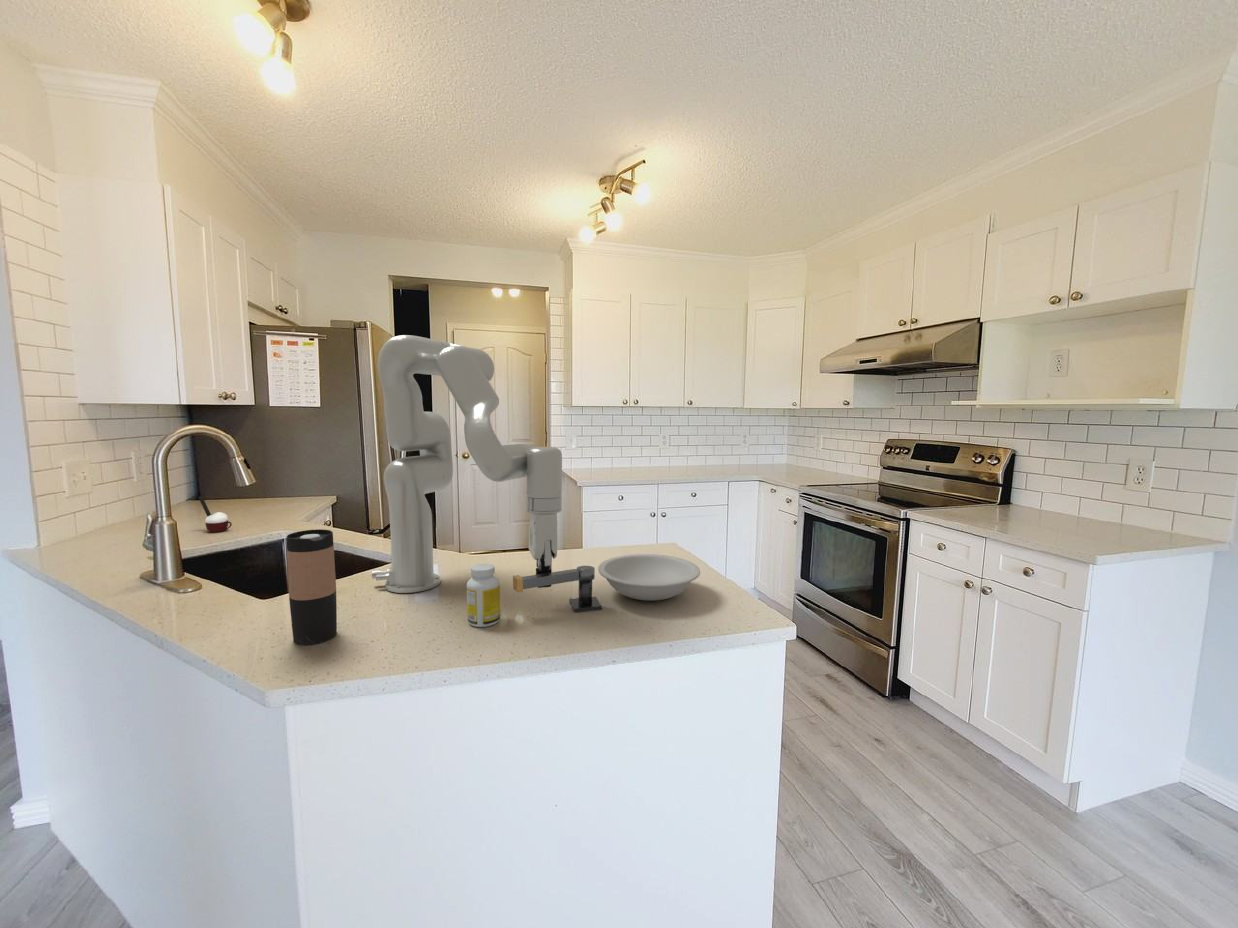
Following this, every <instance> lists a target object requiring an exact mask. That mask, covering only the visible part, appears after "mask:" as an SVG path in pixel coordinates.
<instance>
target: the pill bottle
mask: <svg viewBox="0 0 1238 928" xmlns="http://www.w3.org/2000/svg"><path fill="white" fill-rule="evenodd" d="M495 567H496V566H495V565H494V564H492V563H478V564H474V565H472V566H471V567H470V575H471V578H469V579H468V581H467V582H466V604H467V605H466V606H467V609H466V610H467V622H468V624H469V625H470V626H473V627H476V628H486V627H491V626H493V625H495V624H497V623H498V622H500V620H501V619H500V618H501V601H500V600H501V599H500V598H501V597H500V596H501V593H500V579H499V578H498V577H497V576H494V574H495V572H496V571H495Z"/></svg>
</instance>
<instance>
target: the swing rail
mask: <svg viewBox="0 0 1238 928" xmlns="http://www.w3.org/2000/svg"><path fill="white" fill-rule="evenodd" d="M595 577H596V576H595V567H594V566H592V565H581V566H580V565H579V566H577V567H576V568H572V569H566V570H559V571H552V572H551V573H544V574H537V575H536V574H532V575H526V576H521V575H520V574H515V575H512V587H513V590H514V591H515V592H516V593H517V594H519V593H523V592H524V590H528V589H534V588H538V587H541V586H547V585H551V586H553V585H558V584H564V583H571V582H576V581H577V582H579V580H580V581H591V580H592V581H593V580H595Z"/></svg>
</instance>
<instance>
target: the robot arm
mask: <svg viewBox="0 0 1238 928" xmlns="http://www.w3.org/2000/svg"><path fill="white" fill-rule="evenodd" d="M378 353H379V354H378V357H377V372H378V375H379V376H378V377H379V381H380V385H381V388H382V395H383V408H384V420H385V429H386V430H385V431H386V438H387V442H388V444H389V445H390V447H391V448H392V449H394V450H395V451H399V452H413V451H415V452H416V451H419V455H415V456H414V455H413V456H405V457H400V458H397V459H394V460H393V461H391V462H390V463H389V464H388V465H386V468H384V472H383V484H384V485H383V486H384V489H385V492H386V496H387V497H386V498H387V503H388V510H389V526H390V527H389V528H390V529H389V530H390V554H391V556H390V557H391V558H390V559H391V566H390V568H386V569H385V570H381V569H379V570H372V573H371V574H372V575H371V578H372V579H373V580H375V581H377V582H378V581H384V580H386V581H385V587H384V588H385V590H387V592H388V591H389V592H392V593H397V594H410V593H411V594H413V593H418V592H424V591H427V590H430V589H433V588H435V587H437V586H439V585H440V583H441V577H440V575H439V574H437V573H435V572H434V552H433V551H434V548H433V547H434V541H433V514H432V513H433V512H432V509H431V507H430V504H429V502H428V499H427V498H426V496H425V495H426V494H430V493H435V492H439V491H442V490H445V489H446V488H447V487H448V486H449V485H450V483H451V482H452V479H453V476H454V475H453V474H454V464H453V452H452V451H453V450H452V437H451V430H450V427H449V424H448V423H447V421H446V419H445V418H444V417H443V416H442V415H440V414H439V413H436V412H434V411H424V405H423V395H422V390H421V389H420V388H421V387H420V385H419V383H418V382H417V381H416V379H415V377H414V374H419V375H420V374H421V375H431V376H439V377H441V378H442V380H443V382H444V383H445V384H446V385H445V386H446V387H447V389H448V390H449V392H450V394H451V395H452V396H453V398H454V400H455V402H456V404H457V406H458V408H460V411H461V412H462V414H463V416H464V424H463V431H464V441H465V444H466V447H467V450H468V453H469V454H470V456H471V457H472V459H473V461H474V462H475V464H476V466H477V467H478V469H479V470H480V472H481V473H482V474H483V475H484V477H486V478H487V479H489V480H490V481H493V482H497V483H500V482H506V481H511V480H516V479H521V478H526V512H527V513H529V527H528V528H529V529H528V551H529V553H530V555H531V557H532V558H533V560H535V562H536V564H535V565H536V568H535V575H537V574H544V573H551V572H553V570H552V561H553V559H554V560H555V558H557V556H558V513H561V512H562V511H563V510H562V503H563V501H562V500H563V498H562V497H563V495H562V493H563V454H562V451H561V449H559V448H557V447H555V446H533V445H529V444H523V443H514V444H504V445H503V444H502V443H501V441H500V440H499V438H498V437H497V435H496V433H495V431H494V429H493V427H492V422H491V415H492V413H493V412H495V410H496V409H497V408H498V407H499V404H500V398H499V396H498V394H497V393H496V391H495V389H494V388H493V386H492V385H491V383H490V381H491V380H492V379H493V377H494V374H495V364H494V362H493V359H492V357H491V356H490V355H489V354H488V353H487V352H485V351H484V350H483V349H482V350H481V349H479V348H474V347H467V346H463V345H460V344H456V343H452V342H447V341H443V340H437V339H433V338H428V337H423V336H418V335H411V334H410V335H409V334H402V335H396V336H393V337H391V338H389V339H388V340H387V341H385V342H384V344H383V345H382V347H381V349H380V350H379V352H378ZM551 587H552V585H547V586H541V587H537V588H538V589H541V588H551Z"/></svg>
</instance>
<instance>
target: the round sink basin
mask: <svg viewBox="0 0 1238 928" xmlns="http://www.w3.org/2000/svg"><path fill="white" fill-rule="evenodd" d="M597 568H598V569H597V570H598V574H600V576H602V577H603V578H604V579H606V581H607V582H608V583H609V585H610V587H612V588H613V590H615V591H616V592H618V593H619V594H621V595H623V596H625V597H627V598H631V599H633V600H634V599H635V600H639V601H650V602H651V601H662V600H667V599H671V598H673V597H675V596H677V595H679V594H681V593H682V592H684V591H685V590H686V589H687V588H688V587H689V585H690V584H691V583H692V582H693V581H695V580H697V579H698V578H699V577H700V574H701V569H700V567H699V566H698V565H696V564H695V563H694V562H692V561H691V560H690V561H689V560H687V559H684V558H680V557H676V556H671V555H665V554H658V553H657V554H653V553H652V554H651V553H639V554H638V553H635V554H625V555H618V556H615V557H610V558H608V559H605V560H603V561H602V562H601V563H600V564H599V565H598V567H597Z"/></svg>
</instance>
